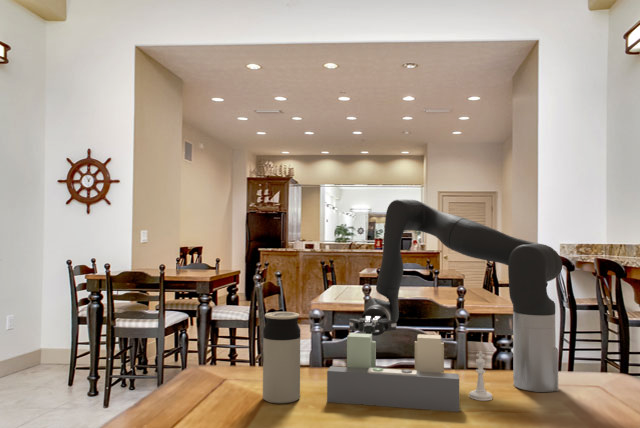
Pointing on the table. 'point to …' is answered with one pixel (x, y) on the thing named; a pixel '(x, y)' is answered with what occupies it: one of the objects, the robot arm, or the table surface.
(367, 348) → the sage key
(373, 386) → the console
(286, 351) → the travel mug
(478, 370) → the chess piece
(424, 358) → the sand key
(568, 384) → the table surface
